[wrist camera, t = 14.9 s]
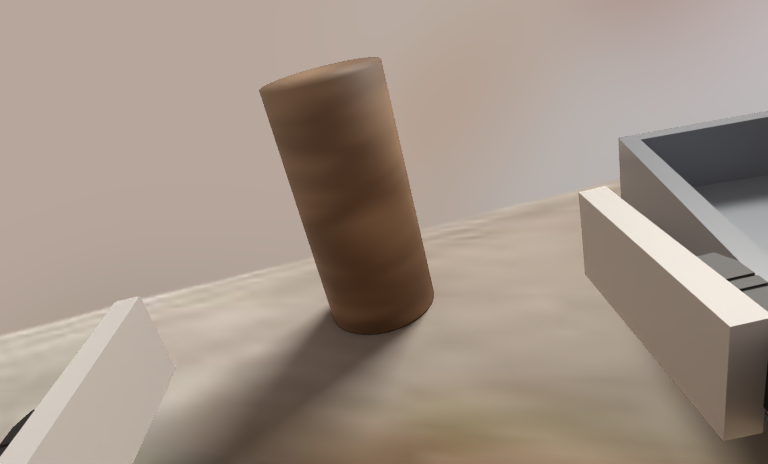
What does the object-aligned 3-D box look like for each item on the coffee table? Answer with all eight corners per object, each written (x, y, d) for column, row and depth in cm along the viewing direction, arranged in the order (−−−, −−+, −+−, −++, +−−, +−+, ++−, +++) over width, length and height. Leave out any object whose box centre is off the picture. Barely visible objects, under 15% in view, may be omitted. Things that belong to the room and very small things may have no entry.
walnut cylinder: (324, 340, 24) (242, 100, 19) (341, 282, 28) (277, 76, 24) (434, 325, 23) (374, 70, 19) (433, 267, 28) (385, 51, 23)
